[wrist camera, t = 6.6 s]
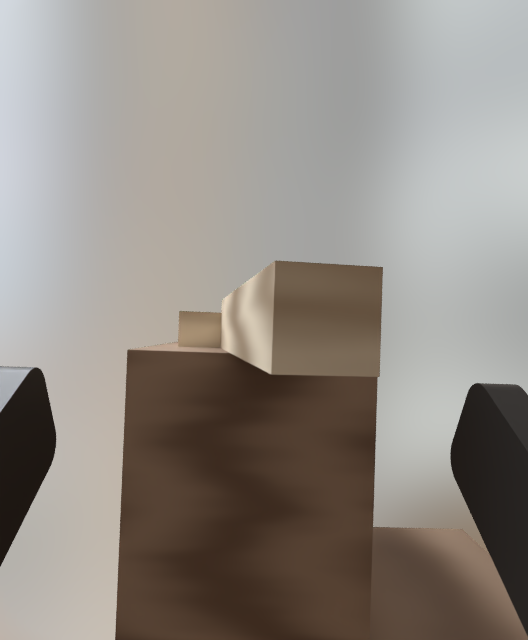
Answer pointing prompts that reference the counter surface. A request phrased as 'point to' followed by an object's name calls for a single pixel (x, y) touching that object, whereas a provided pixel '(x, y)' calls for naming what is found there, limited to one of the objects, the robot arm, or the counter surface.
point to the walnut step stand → (277, 516)
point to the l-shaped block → (298, 320)
